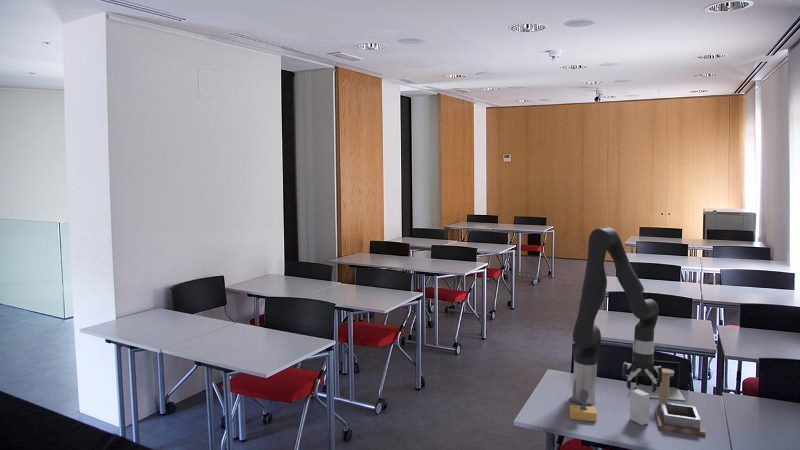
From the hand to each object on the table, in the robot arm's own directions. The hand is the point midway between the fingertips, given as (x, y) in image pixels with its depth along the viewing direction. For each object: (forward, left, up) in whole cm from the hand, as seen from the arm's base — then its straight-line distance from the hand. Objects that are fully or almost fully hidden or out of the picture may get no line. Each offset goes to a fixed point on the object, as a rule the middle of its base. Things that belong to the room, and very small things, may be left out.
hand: (641, 390), depth 226 cm
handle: (+11, +20, -13) cm, 26 cm away
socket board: (+15, +3, -13) cm, 20 cm away
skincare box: (0, 0, -13) cm, 13 cm away
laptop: (+11, +32, -13) cm, 37 cm away
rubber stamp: (-21, -4, -13) cm, 25 cm away
